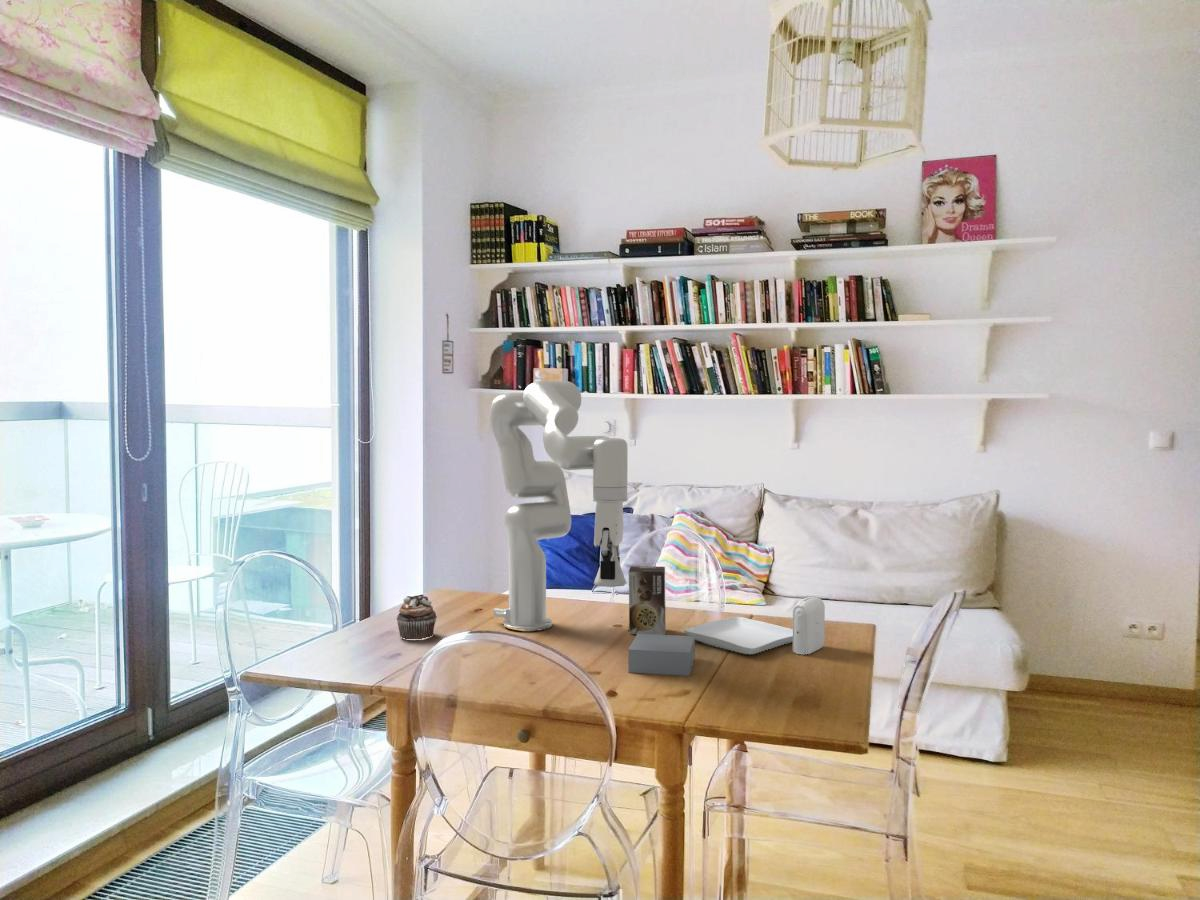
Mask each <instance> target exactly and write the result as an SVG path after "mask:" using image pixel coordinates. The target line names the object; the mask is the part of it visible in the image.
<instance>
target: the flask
mask: <svg viewBox="0 0 1200 900" xmlns="http://www.w3.org/2000/svg"><path fill="white" fill-rule="evenodd" d="M608 547H612V545H611V544H608ZM610 552H611V550H610ZM618 557H619V556H617V551H616V547H615V548H614V561H615V579H614V580H608V579H601V578H600V566H599V568H598V571H597V574H596V576H595V578H594V581H593V585H595V586H598V587H607V588H615V587H624V586H625V585H626V584H627V581H626V578H625V575H624V572H623V570H622V566H621V562H620V563H619V560H618Z"/></svg>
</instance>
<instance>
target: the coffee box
mask: <svg viewBox="0 0 1200 900" xmlns="http://www.w3.org/2000/svg"><path fill="white" fill-rule="evenodd" d="M666 624H667V623H666V566H647V565H646V566H645V565H644V566H638V565H637V566H632V565H631V566H630V567H629V570H628V635H629V634H656V635H666V630H667V629H666V628H667V627H666Z"/></svg>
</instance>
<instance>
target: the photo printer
mask: <svg viewBox="0 0 1200 900" xmlns="http://www.w3.org/2000/svg"><path fill="white" fill-rule="evenodd" d="M825 610H826V607H825V602H824V601H823V600H822V599H821V598H820V597H816V596H809V597H808V596H807V597H805V598H803V599H801V600H800V601H798V602H797V603H796V604H795V606H794V608H793V610H792V629H793V642H792V652H793V653H794V652H795V653H797V654H806V655H805V656H808V655H810V654H812V653H815V652H817V651H819V650H820V649H822V648H823V647H824V646H825V625H826V624H825V619H826V618H825V617H826V616H825V615H826V614H825ZM795 653H794V654H795ZM797 654H796V655H797ZM807 654H808V655H807Z"/></svg>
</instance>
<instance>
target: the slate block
mask: <svg viewBox="0 0 1200 900" xmlns="http://www.w3.org/2000/svg"><path fill="white" fill-rule="evenodd" d="M695 642H696V641H695V636H688V635H677V634H675V635H674V634H671V635H670V634H665V635H656V634H637V635H636V636H634V639H633V641H632V642H631V644H630V646H629V647H628V662H627V663H628V665H627V666H628V673H633V674H648V675H665V676H683V677H684V676H685V677H690V675H691V671H692V668H693V665H694V662H693V661H695V645H696V644H695Z"/></svg>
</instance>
